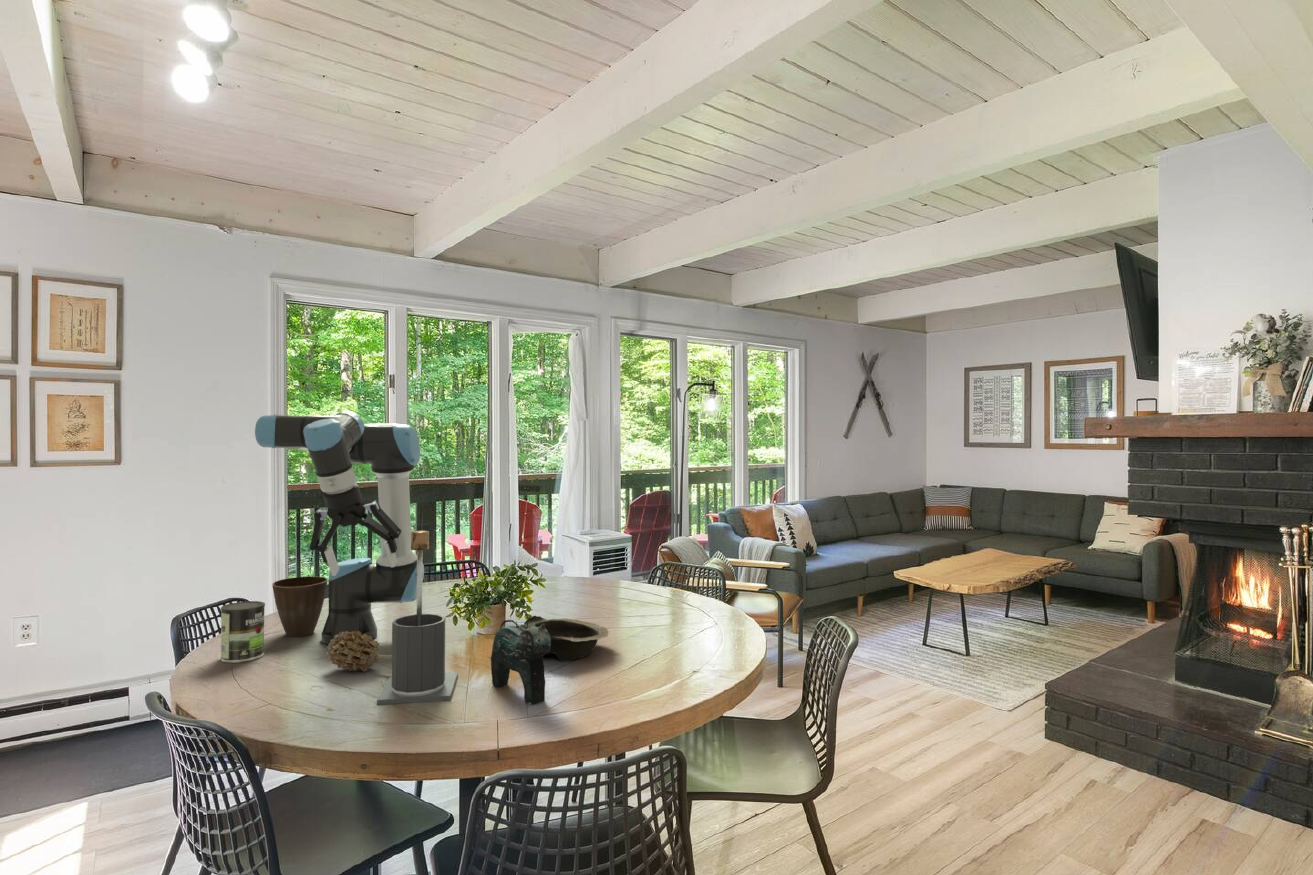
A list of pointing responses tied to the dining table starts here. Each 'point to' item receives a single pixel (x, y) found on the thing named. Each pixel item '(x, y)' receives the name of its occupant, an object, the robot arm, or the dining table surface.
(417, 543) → the plunger
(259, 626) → the coffee can
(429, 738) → the dining table surface
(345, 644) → the pine cone
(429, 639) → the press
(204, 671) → the dining table surface
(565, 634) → the stone bowl
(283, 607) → the plant pot
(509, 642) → the dark animal figurine
